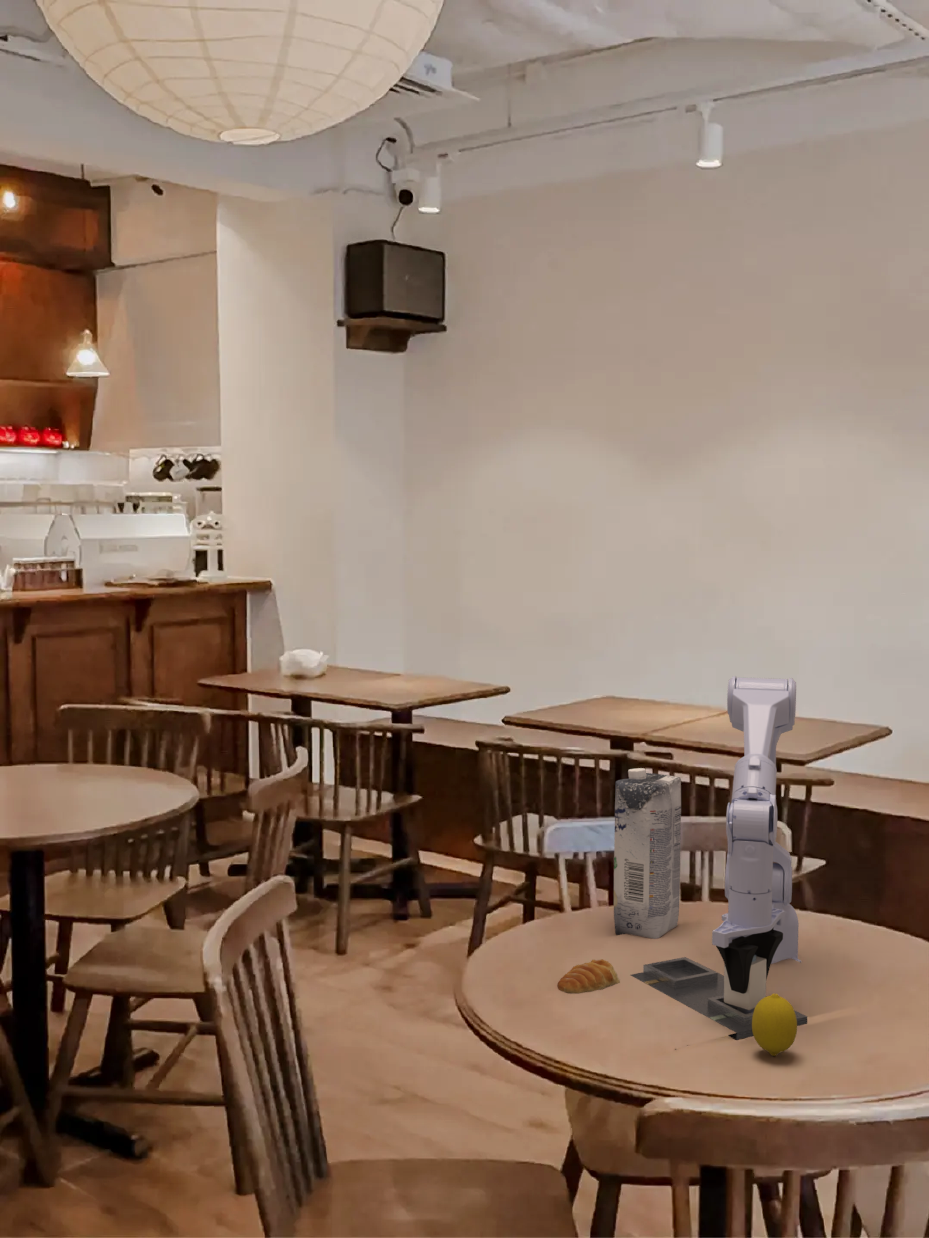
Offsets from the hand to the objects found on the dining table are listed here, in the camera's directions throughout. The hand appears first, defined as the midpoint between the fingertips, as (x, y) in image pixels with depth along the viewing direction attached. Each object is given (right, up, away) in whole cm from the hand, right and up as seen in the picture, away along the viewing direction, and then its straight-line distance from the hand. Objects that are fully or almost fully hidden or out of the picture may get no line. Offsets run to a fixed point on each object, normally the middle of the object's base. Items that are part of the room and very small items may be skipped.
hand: (748, 986), depth 175 cm
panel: (-3, -4, +6) cm, 8 cm away
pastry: (-20, -4, +11) cm, 24 cm away
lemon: (+1, -6, -12) cm, 13 cm away
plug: (0, -2, 0) cm, 2 cm away
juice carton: (-9, -2, +36) cm, 37 cm away
